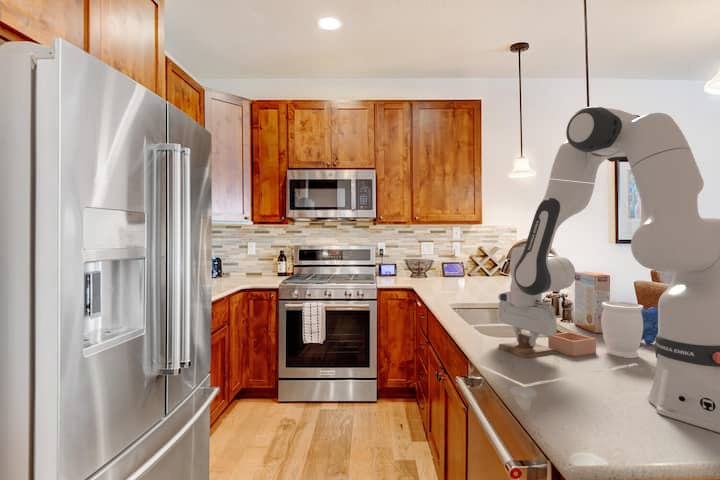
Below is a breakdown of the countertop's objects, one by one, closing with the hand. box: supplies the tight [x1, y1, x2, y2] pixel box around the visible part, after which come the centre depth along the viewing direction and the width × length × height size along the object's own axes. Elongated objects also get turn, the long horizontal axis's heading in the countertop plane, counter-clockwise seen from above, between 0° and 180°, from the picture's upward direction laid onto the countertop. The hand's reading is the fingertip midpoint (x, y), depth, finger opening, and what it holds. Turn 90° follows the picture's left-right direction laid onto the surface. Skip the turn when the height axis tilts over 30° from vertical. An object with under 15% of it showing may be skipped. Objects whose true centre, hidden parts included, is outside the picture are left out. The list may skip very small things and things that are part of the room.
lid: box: [498, 333, 555, 359], centre depth 124 cm, size 11×11×5 cm
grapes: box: [641, 306, 658, 345], centre depth 133 cm, size 12×7×12 cm, turn 49°
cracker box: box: [573, 271, 611, 334], centre depth 153 cm, size 14×6×21 cm, turn 179°
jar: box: [601, 301, 644, 359], centre depth 121 cm, size 11×10×15 cm
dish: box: [547, 331, 597, 358], centre depth 123 cm, size 9×9×5 cm
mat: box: [497, 346, 558, 360], centre depth 124 cm, size 12×12×1 cm
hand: (525, 343), depth 124 cm, fingers closed on lid, 3 cm apart
